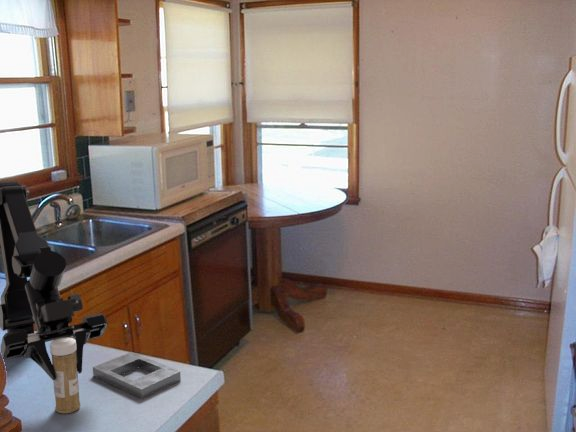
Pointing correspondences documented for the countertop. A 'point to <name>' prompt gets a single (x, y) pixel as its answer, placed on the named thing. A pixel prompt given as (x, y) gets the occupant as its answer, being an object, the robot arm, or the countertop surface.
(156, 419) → the countertop surface
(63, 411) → the sprinkles bottle
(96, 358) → the countertop surface
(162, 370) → the gray rectangular frame
